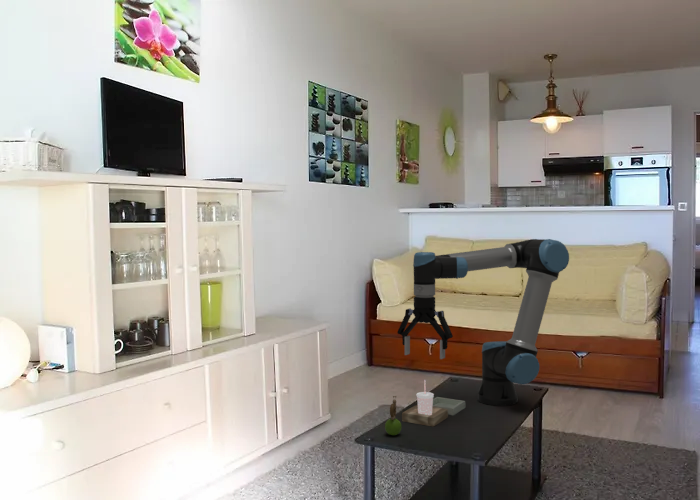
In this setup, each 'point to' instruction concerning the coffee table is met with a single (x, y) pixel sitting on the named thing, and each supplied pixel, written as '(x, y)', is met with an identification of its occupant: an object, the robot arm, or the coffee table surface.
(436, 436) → the coffee table surface
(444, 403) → the tray
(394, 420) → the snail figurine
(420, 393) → the beverage cup
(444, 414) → the socket holder
